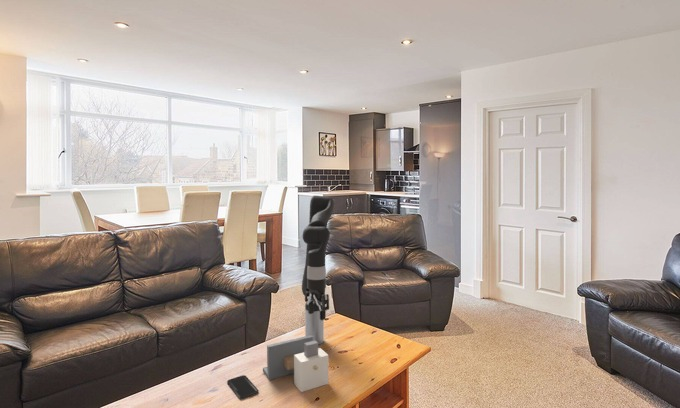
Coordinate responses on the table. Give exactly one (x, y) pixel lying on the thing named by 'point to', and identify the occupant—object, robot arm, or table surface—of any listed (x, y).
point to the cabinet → (310, 367)
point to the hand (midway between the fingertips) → (316, 316)
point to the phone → (242, 387)
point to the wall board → (283, 356)
